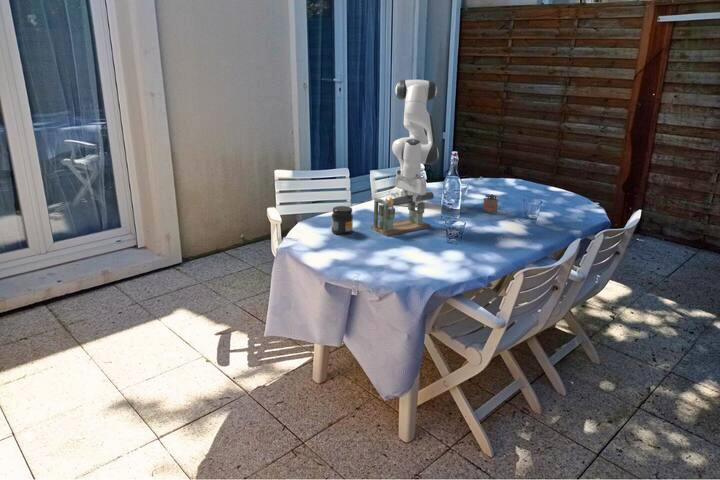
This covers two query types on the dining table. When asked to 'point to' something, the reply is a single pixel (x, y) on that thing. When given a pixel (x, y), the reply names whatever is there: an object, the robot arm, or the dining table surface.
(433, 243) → the dining table surface
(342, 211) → the supplement container
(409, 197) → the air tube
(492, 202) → the lighter
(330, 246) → the dining table surface
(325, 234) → the dining table surface
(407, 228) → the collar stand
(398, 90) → the robot arm
